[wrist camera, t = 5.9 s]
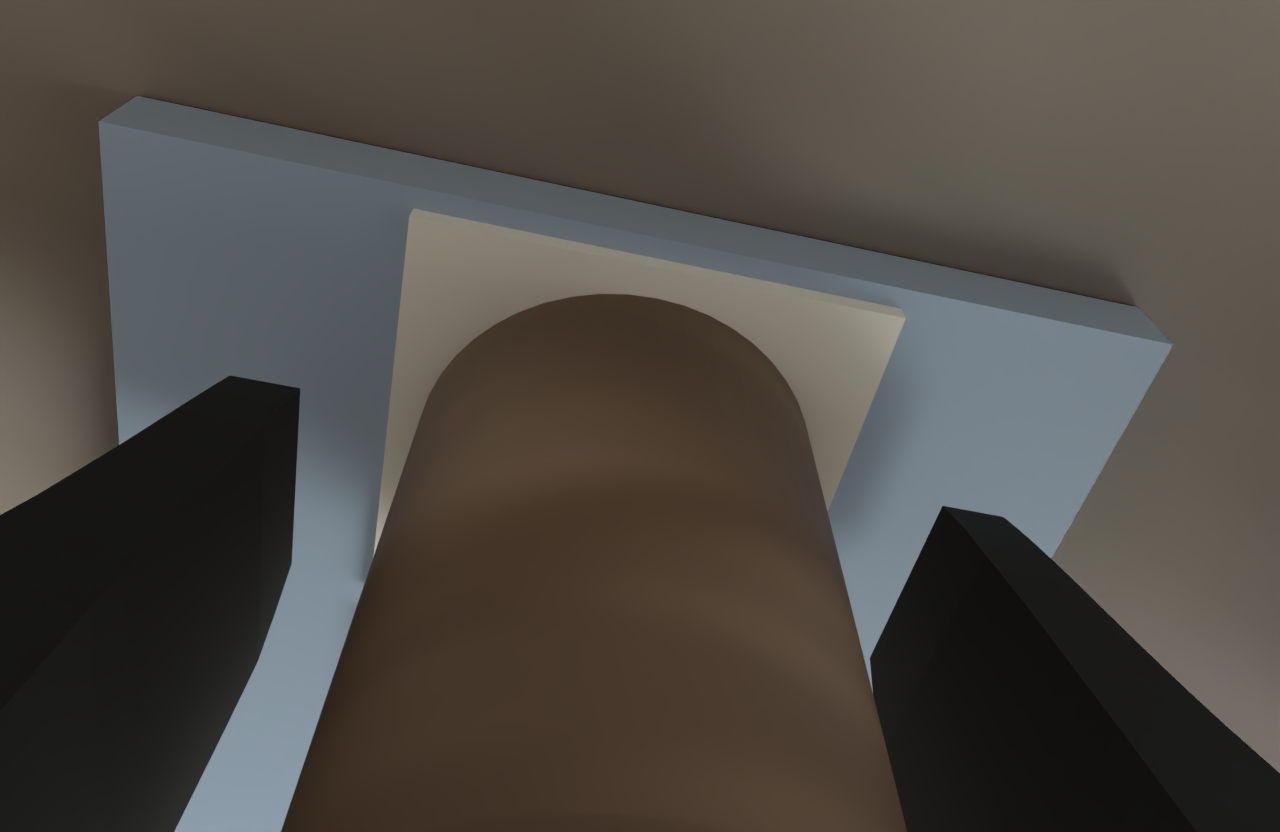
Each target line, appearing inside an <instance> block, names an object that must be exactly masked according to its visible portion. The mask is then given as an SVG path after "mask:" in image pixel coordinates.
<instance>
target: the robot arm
mask: <svg viewBox="0 0 1280 832" xmlns="http://www.w3.org/2000/svg"><path fill="white" fill-rule="evenodd" d="M299 405H300V388H296V387H291V386H285V385H280V384H274V383H269V382H263V381H258V380H252V379H247V378H241V377H236V376H230V375H229V376H228V377H226V378H225V379H223V380H221V381H220V382H218V383H216V384H215V385H213V386H211V387H210V388H208V389H207V390H205V391H203V392H202V393H200V394H199V395H197V396H195V397H194V398H192V399H191V400H189V401H187V402H186V403H184V404H183V405H181V406H179V407H178V408H176V409H175V410H173V411H172V412H170V413H169V414H167V415H165V416H164V417H162V418H161V419H159V420H158V421H156V422H154V423H153V424H151V425H150V426H148V427H147V428H145V429H144V430H142V431H140V432H139V433H137V434H136V435H134V436H132V437H131V438H129V439H128V440H126V441H125V442H123V443H121V444H120V445H118V446H117V447H115V448H114V449H112V450H110V451H109V452H107V453H106V454H104V455H102V456H101V457H99V458H97V459H96V460H94V461H92V462H91V463H89V464H87V465H86V466H84V467H83V468H81V469H79V470H78V471H76V472H74V473H73V474H71V475H69V476H68V477H66V478H64V479H63V480H61V481H59V482H58V483H56V484H55V485H53V486H51V487H50V488H48V489H46V490H45V491H43V492H41V493H40V494H38V495H36V496H35V497H33V498H31V499H29V500H27V501H25V502H24V503H22V504H20V505H18V506H16V507H14V508H13V509H11V510H9V511H7V512H5V513H4V514H2V515H0V832H174V831H175V829H176V827H177V825H178V823H179V821H180V819H181V817H182V815H183V813H184V811H185V809H186V807H187V805H188V803H189V801H190V799H191V797H192V795H193V793H194V791H195V789H196V787H197V785H198V783H199V781H200V779H201V777H202V775H203V773H204V771H205V769H206V767H207V765H208V763H209V761H210V759H211V757H212V755H213V753H214V751H215V749H216V746H217V744H218V742H219V740H220V738H221V736H222V734H223V732H224V730H225V728H226V726H227V724H228V722H229V720H230V718H231V716H232V714H233V712H234V710H235V708H236V706H237V704H238V702H239V699H240V697H241V695H242V693H243V691H244V689H245V687H246V685H247V683H248V681H249V679H250V677H251V675H252V673H253V670H254V668H255V666H256V664H257V662H258V660H259V657H260V654H261V651H262V648H263V646H264V643H265V640H266V637H267V634H268V632H269V629H270V626H271V623H272V620H273V618H274V615H275V612H276V609H277V606H278V603H279V600H280V597H281V594H282V591H283V588H284V585H285V582H286V579H287V576H288V573H289V570H290V567H291V564H292V547H293V527H294V506H295V486H296V466H297V446H298V425H299ZM870 666H871V677H872V688H873V696H874V700H875V704H876V708H877V712H878V716H879V720H880V724H881V728H882V732H883V736H884V740H885V744H886V748H887V752H888V756H889V760H890V764H891V768H892V772H893V776H894V780H895V784H896V788H897V792H898V796H899V800H900V804H901V808H902V812H903V816H904V820H905V824H906V828H907V832H1280V773H1279V772H1278V771H1276V770H1275V769H1274V768H1273V767H1272V766H1271V765H1270V764H1268V763H1267V762H1266V761H1265V760H1264V759H1263V758H1262V757H1260V756H1259V755H1258V754H1257V753H1256V752H1255V751H1254V750H1253V749H1251V748H1250V747H1249V746H1248V745H1247V744H1246V743H1245V742H1243V741H1242V740H1241V739H1240V738H1239V737H1238V736H1237V735H1236V734H1234V733H1233V732H1232V731H1231V730H1230V729H1229V728H1228V727H1226V726H1225V725H1224V724H1223V723H1222V722H1221V721H1220V720H1219V719H1218V718H1217V717H1216V716H1215V715H1213V714H1212V713H1211V712H1210V711H1209V710H1208V709H1207V708H1206V707H1205V706H1204V705H1203V704H1202V703H1200V702H1199V701H1198V700H1197V699H1196V698H1195V697H1194V696H1193V695H1192V694H1191V693H1190V692H1189V691H1188V690H1186V689H1185V688H1184V687H1183V686H1182V685H1181V684H1180V683H1179V682H1178V681H1177V680H1176V679H1175V678H1174V677H1173V676H1172V675H1171V674H1170V673H1168V672H1167V671H1166V670H1165V669H1164V668H1163V667H1162V666H1161V665H1160V664H1159V663H1158V662H1157V661H1156V660H1155V659H1154V658H1153V657H1152V656H1151V655H1150V654H1149V653H1148V652H1147V651H1146V650H1144V649H1143V648H1142V647H1141V646H1140V645H1139V644H1138V643H1137V642H1136V641H1135V640H1134V639H1133V638H1132V637H1131V636H1130V635H1129V634H1128V633H1127V632H1126V631H1125V630H1124V629H1123V628H1122V627H1121V626H1120V625H1119V624H1118V623H1117V622H1116V621H1115V620H1114V619H1113V618H1112V617H1111V616H1109V615H1108V614H1107V613H1106V612H1105V611H1104V610H1103V609H1102V608H1101V607H1100V606H1099V605H1098V604H1097V603H1096V602H1095V601H1094V600H1093V599H1092V598H1091V597H1090V596H1089V595H1088V594H1087V593H1086V592H1085V591H1084V590H1083V589H1082V588H1081V587H1080V586H1079V585H1078V584H1077V583H1076V582H1075V581H1074V580H1073V579H1072V578H1071V577H1070V576H1068V575H1067V574H1066V573H1065V572H1064V571H1063V570H1062V569H1061V568H1060V567H1059V566H1058V565H1057V564H1056V563H1055V562H1054V561H1053V560H1052V559H1051V558H1050V557H1049V556H1048V555H1046V554H1045V553H1044V552H1043V551H1042V550H1041V549H1040V548H1039V547H1038V546H1037V545H1036V544H1035V543H1033V542H1032V541H1031V540H1030V539H1029V538H1028V537H1027V536H1026V535H1025V534H1023V533H1022V532H1021V531H1020V530H1019V529H1018V528H1016V527H1015V526H1014V525H1013V524H1011V523H1010V522H1009V521H1008V520H1007V519H1005V518H1004V517H1001V516H996V515H991V514H985V513H980V512H974V511H969V510H963V509H958V508H952V507H947V506H942V508H941V510H940V512H939V514H938V516H937V518H936V520H935V523H934V525H933V527H932V529H931V531H930V533H929V535H928V537H927V539H926V541H925V543H924V546H923V548H922V550H921V552H920V554H919V556H918V558H917V560H916V562H915V564H914V567H913V569H912V571H911V573H910V575H909V577H908V579H907V581H906V583H905V585H904V587H903V590H902V592H901V594H900V596H899V598H898V600H897V602H896V604H895V606H894V608H893V610H892V613H891V615H890V617H889V619H888V621H887V623H886V625H885V627H884V629H883V631H882V633H881V636H880V638H879V640H878V642H877V644H876V646H875V648H874V650H873V652H872V654H871V656H870Z"/></svg>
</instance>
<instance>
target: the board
mask: <svg viewBox="0 0 1280 832" xmlns="http://www.w3.org/2000/svg"><path fill="white" fill-rule="evenodd" d="M98 123H99V139H100V155H101V170H102V186H103V201H104V217H105V232H106V248H107V264H108V279H109V295H110V310H111V326H112V342H113V357H114V373H115V388H116V404H117V420H118V435H119V445H120V444H121V443H123V442H125V441H126V440H128V439H129V438H131V437H132V436H134V435H136V434H137V433H139V432H140V431H142V430H144V429H145V428H147V427H148V426H150V425H151V424H153V423H154V422H156V421H158V420H159V419H161V418H162V417H164V416H165V415H167V414H169V413H170V412H172V411H173V410H175V409H176V408H178V407H179V406H181V405H183V404H184V403H186V402H187V401H189V400H191V399H192V398H194V397H195V396H197V395H199V394H200V393H202V392H203V391H205V390H207V389H208V388H210V387H211V386H213V385H215V384H216V383H218V382H220V381H221V380H223V379H225V378H226V377H228V376H229V375H230V376H236V377H241V378H247V379H252V380H258V381H263V382H269V383H274V384H280V385H285V386H291V387H296V388H300V405H299V425H298V446H297V466H296V486H295V506H294V527H293V547H292V564H291V567H290V570H289V573H288V576H287V579H286V582H285V585H284V588H283V591H282V594H281V597H280V600H279V603H278V606H277V609H276V612H275V615H274V618H273V620H272V623H271V626H270V629H269V632H268V634H267V637H266V640H265V643H264V646H263V648H262V651H261V654H260V657H259V660H258V662H257V664H256V666H255V668H254V670H253V673H252V675H251V677H250V679H249V681H248V683H247V685H246V687H245V689H244V691H243V693H242V695H241V697H240V699H239V702H238V704H237V706H236V708H235V710H234V712H233V714H232V716H231V718H230V720H229V722H228V724H227V726H226V728H225V730H224V732H223V734H222V736H221V738H220V740H219V742H218V744H217V746H216V749H215V751H214V753H213V755H212V757H211V759H210V761H209V763H208V765H207V767H206V769H205V771H204V773H203V775H202V777H201V779H200V781H199V783H198V785H197V787H196V789H195V791H194V793H193V795H192V797H191V799H190V801H189V803H188V805H187V807H186V809H185V811H184V813H183V815H182V817H181V819H180V821H179V823H178V825H177V827H176V829H175V831H174V832H281V830H282V827H283V824H284V821H285V818H286V815H287V812H288V809H289V806H290V803H291V800H292V797H293V794H294V791H295V788H296V785H297V782H298V779H299V776H300V773H301V770H302V767H303V764H304V762H305V759H306V756H307V753H308V750H309V747H310V744H311V741H312V738H313V735H314V732H315V729H316V726H317V723H318V720H319V717H320V714H321V711H322V708H323V705H324V702H325V699H326V696H327V693H328V690H329V687H330V684H331V681H332V678H333V675H334V673H335V670H336V667H337V664H338V661H339V658H340V655H341V652H342V649H343V646H344V643H345V640H346V637H347V634H348V631H349V628H350V625H351V622H352V619H353V616H354V613H355V610H356V607H357V604H358V601H359V598H360V595H361V592H362V589H363V586H364V584H365V581H366V578H367V575H368V572H369V569H370V566H371V563H372V560H373V557H374V554H375V551H376V548H377V545H378V542H379V539H380V536H381V533H382V530H383V527H384V524H385V521H386V518H387V515H388V512H389V509H390V506H391V503H392V500H393V497H394V494H395V492H396V489H397V486H398V483H399V480H400V477H401V474H402V471H403V468H404V465H405V462H406V459H407V456H408V453H409V450H410V447H411V444H412V441H413V438H414V435H415V432H416V429H417V426H418V423H419V420H420V417H421V414H422V412H423V409H424V407H425V404H426V401H427V399H428V396H429V394H430V392H431V390H432V389H433V387H434V385H435V383H436V382H437V380H438V378H439V377H440V375H441V373H442V372H443V371H444V370H445V368H446V367H447V366H448V365H449V364H450V362H451V361H452V360H453V359H454V357H455V356H456V355H457V354H458V353H459V352H460V351H461V350H463V349H464V348H465V347H466V346H467V345H468V344H469V343H470V342H471V341H472V340H473V339H475V338H476V337H477V336H479V335H480V334H482V333H483V332H485V331H486V330H488V329H489V328H490V327H492V326H493V325H495V324H497V323H499V322H501V321H502V320H504V319H506V318H508V317H510V316H512V315H514V314H516V313H518V312H521V311H523V310H526V309H529V308H532V307H535V306H537V305H540V304H543V303H546V302H551V301H555V300H560V299H564V298H569V297H574V296H585V295H595V294H629V295H636V296H643V297H651V298H658V299H661V300H665V301H669V302H673V303H676V304H680V305H684V306H687V307H689V308H692V309H694V310H697V311H699V312H702V313H704V314H707V315H709V316H711V317H713V318H715V319H717V320H718V321H720V322H722V323H724V324H726V325H727V326H729V327H731V328H733V329H734V330H736V331H737V332H738V333H740V334H741V335H742V336H744V337H745V338H746V339H748V340H749V341H750V342H752V343H753V344H754V345H755V346H756V347H757V348H758V349H759V350H760V351H761V352H763V353H764V354H765V355H766V356H767V357H768V358H769V359H770V360H771V361H772V363H773V364H774V365H775V366H776V368H777V369H778V370H779V372H780V373H781V374H782V376H783V377H784V378H785V380H786V381H787V383H788V385H789V386H790V388H791V390H792V392H793V394H794V395H795V397H796V399H797V401H798V404H799V406H800V409H801V412H802V415H803V418H804V420H805V424H806V428H807V432H808V436H809V440H810V444H811V448H812V452H813V456H814V460H815V464H816V468H817V472H818V476H819V480H820V484H821V488H822V492H823V496H824V500H825V504H826V508H827V512H828V516H829V520H830V524H831V528H832V532H833V536H834V540H835V544H836V548H837V552H838V556H839V560H840V564H841V568H842V572H843V576H844V580H845V584H846V588H847V592H848V596H849V600H850V604H851V608H852V612H853V616H854V620H855V624H856V628H857V632H858V636H859V640H860V644H861V648H862V652H863V656H864V660H865V664H866V668H867V672H868V676H869V680H870V684H871V688H872V677H871V666H870V656H871V654H872V652H873V650H874V648H875V646H876V644H877V642H878V640H879V638H880V636H881V633H882V631H883V629H884V627H885V625H886V623H887V621H888V619H889V617H890V615H891V613H892V610H893V608H894V606H895V604H896V602H897V600H898V598H899V596H900V594H901V592H902V590H903V587H904V585H905V583H906V581H907V579H908V577H909V575H910V573H911V571H912V569H913V567H914V564H915V562H916V560H917V558H918V556H919V554H920V552H921V550H922V548H923V546H924V543H925V541H926V539H927V537H928V535H929V533H930V531H931V529H932V527H933V525H934V523H935V520H936V518H937V516H938V514H939V512H940V510H941V508H942V506H947V507H952V508H958V509H963V510H969V511H974V512H980V513H985V514H991V515H996V516H1001V517H1004V518H1005V519H1007V520H1008V521H1009V522H1010V523H1011V524H1013V525H1014V526H1015V527H1016V528H1018V529H1019V530H1020V531H1021V532H1022V533H1023V534H1025V535H1026V536H1027V537H1028V538H1029V539H1030V540H1031V541H1032V542H1033V543H1035V544H1036V545H1037V546H1038V547H1039V548H1040V549H1041V550H1042V551H1043V552H1044V553H1045V554H1046V555H1048V556H1049V557H1050V558H1051V559H1052V557H1053V555H1054V553H1055V552H1056V550H1057V548H1058V546H1059V545H1060V543H1061V541H1062V539H1063V538H1064V536H1065V534H1066V532H1067V530H1068V529H1069V527H1070V525H1071V523H1072V522H1073V520H1074V518H1075V516H1076V515H1077V513H1078V511H1079V509H1080V508H1081V506H1082V504H1083V502H1084V501H1085V499H1086V497H1087V495H1088V494H1089V492H1090V490H1091V488H1092V487H1093V485H1094V483H1095V481H1096V480H1097V478H1098V476H1099V474H1100V473H1101V471H1102V469H1103V467H1104V466H1105V464H1106V462H1107V460H1108V459H1109V457H1110V455H1111V453H1112V452H1113V450H1114V448H1115V446H1116V445H1117V443H1118V441H1119V439H1120V438H1121V436H1122V434H1123V432H1124V431H1125V429H1126V427H1127V425H1128V424H1129V422H1130V420H1131V418H1132V416H1133V415H1134V413H1135V411H1136V409H1137V408H1138V406H1139V404H1140V402H1141V401H1142V399H1143V397H1144V395H1145V394H1146V392H1147V390H1148V388H1149V387H1150V385H1151V383H1152V381H1153V380H1154V378H1155V376H1156V374H1157V373H1158V371H1159V369H1160V367H1161V366H1162V364H1163V362H1164V360H1165V359H1166V357H1167V355H1168V353H1169V352H1170V350H1171V348H1172V346H1173V344H1172V343H1171V342H1170V341H1169V340H1168V339H1167V337H1166V336H1165V335H1164V334H1163V333H1162V332H1161V331H1160V330H1159V329H1158V328H1157V327H1156V325H1155V324H1154V323H1153V322H1152V321H1151V320H1150V319H1149V318H1148V317H1147V316H1146V315H1145V313H1144V312H1143V311H1142V310H1141V309H1140V308H1138V307H1134V306H1129V305H1124V304H1119V303H1115V302H1110V301H1105V300H1100V299H1096V298H1091V297H1086V296H1082V295H1077V294H1072V293H1067V292H1063V291H1058V290H1053V289H1049V288H1044V287H1039V286H1034V285H1030V284H1025V283H1020V282H1015V281H1011V280H1006V279H1001V278H997V277H992V276H987V275H982V274H978V273H973V272H968V271H963V270H959V269H954V268H949V267H945V266H940V265H935V264H930V263H926V262H921V261H916V260H911V259H907V258H902V257H897V256H893V255H888V254H883V253H878V252H874V251H869V250H864V249H859V248H855V247H850V246H845V245H841V244H836V243H831V242H826V241H822V240H817V239H812V238H807V237H803V236H798V235H793V234H789V233H784V232H779V231H774V230H770V229H765V228H760V227H756V226H751V225H746V224H741V223H737V222H732V221H727V220H722V219H718V218H713V217H708V216H704V215H699V214H694V213H689V212H685V211H680V210H675V209H670V208H666V207H661V206H656V205H652V204H647V203H642V202H637V201H633V200H628V199H623V198H618V197H614V196H609V195H604V194H600V193H595V192H590V191H585V190H581V189H576V188H571V187H566V186H562V185H557V184H552V183H548V182H543V181H538V180H533V179H529V178H524V177H519V176H514V175H510V174H505V173H500V172H496V171H491V170H486V169H481V168H477V167H472V166H467V165H462V164H458V163H453V162H448V161H444V160H439V159H434V158H429V157H425V156H420V155H415V154H411V153H406V152H401V151H396V150H392V149H387V148H382V147H377V146H373V145H368V144H363V143H359V142H354V141H349V140H344V139H340V138H335V137H330V136H325V135H321V134H316V133H311V132H307V131H302V130H297V129H292V128H288V127H283V126H278V125H273V124H269V123H264V122H259V121H255V120H250V119H245V118H240V117H236V116H231V115H226V114H221V113H217V112H212V111H207V110H203V109H198V108H193V107H188V106H184V105H179V104H174V103H169V102H165V101H160V100H155V99H151V98H146V97H141V96H136V97H135V98H133V99H132V100H130V101H129V102H127V103H126V104H124V105H123V106H121V107H119V108H118V109H116V110H115V111H113V112H112V113H110V114H109V115H107V116H106V117H104V118H103V119H101V120H100V121H98ZM872 692H873V688H872Z"/></svg>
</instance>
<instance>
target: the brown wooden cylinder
mask: <svg viewBox="0 0 1280 832" xmlns="http://www.w3.org/2000/svg"><path fill="white" fill-rule="evenodd" d="M281 832H907V828H906V824H905V820H904V816H903V812H902V808H901V804H900V800H899V796H898V792H897V788H896V784H895V780H894V776H893V772H892V768H891V764H890V760H889V756H888V752H887V748H886V744H885V740H884V736H883V732H882V728H881V724H880V720H879V716H878V712H877V708H876V704H875V700H874V696H873V692H872V688H871V684H870V680H869V676H868V672H867V668H866V664H865V660H864V656H863V652H862V648H861V644H860V640H859V636H858V632H857V628H856V624H855V620H854V616H853V612H852V608H851V604H850V600H849V596H848V592H847V588H846V584H845V580H844V576H843V572H842V568H841V564H840V560H839V556H838V552H837V548H836V544H835V540H834V536H833V532H832V528H831V524H830V520H829V516H828V512H827V508H826V504H825V500H824V496H823V492H822V488H821V484H820V480H819V476H818V472H817V468H816V464H815V460H814V456H813V452H812V448H811V444H810V440H809V436H808V432H807V428H806V424H805V420H804V418H803V415H802V412H801V409H800V406H799V404H798V401H797V399H796V397H795V395H794V394H793V392H792V390H791V388H790V386H789V385H788V383H787V381H786V380H785V378H784V377H783V376H782V374H781V373H780V372H779V370H778V369H777V368H776V366H775V365H774V364H773V363H772V361H771V360H770V359H769V358H768V357H767V356H766V355H765V354H764V353H763V352H761V351H760V350H759V349H758V348H757V347H756V346H755V345H754V344H753V343H752V342H750V341H749V340H748V339H746V338H745V337H744V336H742V335H741V334H740V333H738V332H737V331H736V330H734V329H733V328H731V327H729V326H727V325H726V324H724V323H722V322H720V321H718V320H717V319H715V318H713V317H711V316H709V315H707V314H704V313H702V312H699V311H697V310H694V309H692V308H689V307H687V306H684V305H680V304H676V303H673V302H669V301H665V300H661V299H658V298H651V297H643V296H636V295H629V294H595V295H585V296H574V297H569V298H564V299H560V300H555V301H551V302H546V303H543V304H540V305H537V306H535V307H532V308H529V309H526V310H523V311H521V312H518V313H516V314H514V315H512V316H510V317H508V318H506V319H504V320H502V321H501V322H499V323H497V324H495V325H493V326H492V327H490V328H489V329H488V330H486V331H485V332H483V333H482V334H480V335H479V336H477V337H476V338H475V339H473V340H472V341H471V342H470V343H469V344H468V345H467V346H466V347H465V348H464V349H463V350H461V351H460V352H459V353H458V354H457V355H456V356H455V357H454V359H453V360H452V361H451V362H450V364H449V365H448V366H447V367H446V368H445V370H444V371H443V372H442V373H441V375H440V377H439V378H438V380H437V382H436V383H435V385H434V387H433V389H432V390H431V392H430V394H429V396H428V399H427V401H426V404H425V407H424V409H423V412H422V414H421V417H420V420H419V423H418V426H417V429H416V432H415V435H414V438H413V441H412V444H411V447H410V450H409V453H408V456H407V459H406V462H405V465H404V468H403V471H402V474H401V477H400V480H399V483H398V486H397V489H396V492H395V494H394V497H393V500H392V503H391V506H390V509H389V512H388V515H387V518H386V521H385V524H384V527H383V530H382V533H381V536H380V539H379V542H378V545H377V548H376V551H375V554H374V557H373V560H372V563H371V566H370V569H369V572H368V575H367V578H366V581H365V584H364V586H363V589H362V592H361V595H360V598H359V601H358V604H357V607H356V610H355V613H354V616H353V619H352V622H351V625H350V628H349V631H348V634H347V637H346V640H345V643H344V646H343V649H342V652H341V655H340V658H339V661H338V664H337V667H336V670H335V673H334V675H333V678H332V681H331V684H330V687H329V690H328V693H327V696H326V699H325V702H324V705H323V708H322V711H321V714H320V717H319V720H318V723H317V726H316V729H315V732H314V735H313V738H312V741H311V744H310V747H309V750H308V753H307V756H306V759H305V762H304V764H303V767H302V770H301V773H300V776H299V779H298V782H297V785H296V788H295V791H294V794H293V797H292V800H291V803H290V806H289V809H288V812H287V815H286V818H285V821H284V824H283V827H282V830H281Z"/></svg>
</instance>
